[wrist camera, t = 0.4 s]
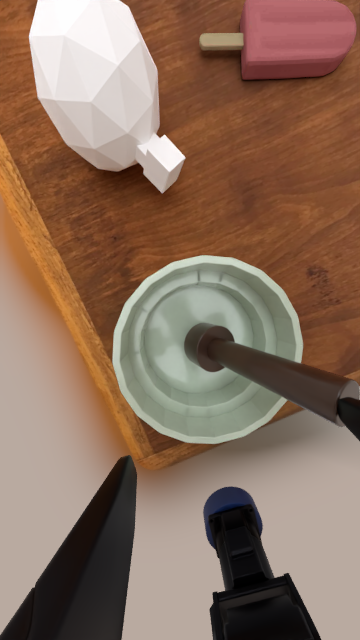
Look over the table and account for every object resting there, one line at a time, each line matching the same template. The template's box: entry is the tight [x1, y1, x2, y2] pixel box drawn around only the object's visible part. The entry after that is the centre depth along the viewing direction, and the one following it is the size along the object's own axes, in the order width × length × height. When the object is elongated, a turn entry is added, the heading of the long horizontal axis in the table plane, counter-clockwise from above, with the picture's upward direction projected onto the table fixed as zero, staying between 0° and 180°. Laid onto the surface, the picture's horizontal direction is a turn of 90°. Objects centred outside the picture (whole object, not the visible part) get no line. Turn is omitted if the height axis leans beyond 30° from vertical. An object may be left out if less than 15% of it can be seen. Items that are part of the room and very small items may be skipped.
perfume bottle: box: [29, 0, 185, 194], centre depth 14 cm, size 9×9×12 cm
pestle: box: [184, 323, 360, 427], centre depth 13 cm, size 4×4×12 cm
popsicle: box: [199, 0, 356, 80], centre depth 17 cm, size 5×2×15 cm
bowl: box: [112, 255, 303, 444], centre depth 17 cm, size 15×15×6 cm
